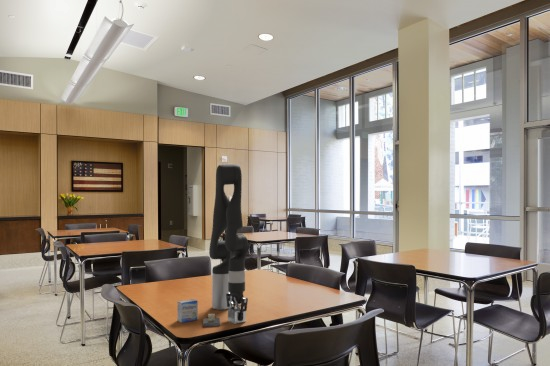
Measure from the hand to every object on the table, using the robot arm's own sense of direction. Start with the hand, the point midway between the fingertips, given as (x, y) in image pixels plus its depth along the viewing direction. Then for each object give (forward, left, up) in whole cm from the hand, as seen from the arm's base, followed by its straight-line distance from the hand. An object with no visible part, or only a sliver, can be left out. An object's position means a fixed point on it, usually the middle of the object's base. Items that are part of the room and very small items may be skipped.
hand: (236, 318), depth 172 cm
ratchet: (-2, -11, -1) cm, 11 cm away
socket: (0, 0, -1) cm, 1 cm away
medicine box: (-5, -21, -1) cm, 22 cm away
